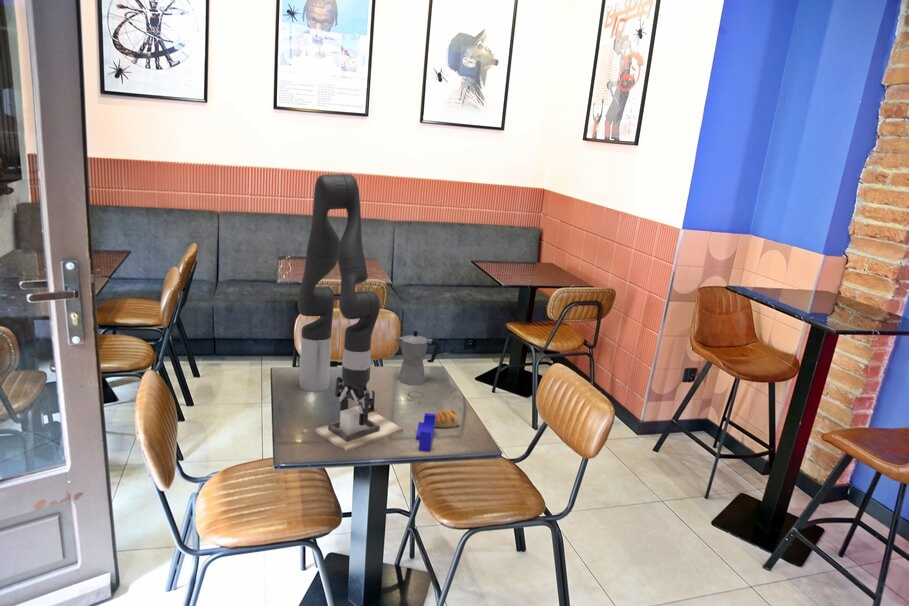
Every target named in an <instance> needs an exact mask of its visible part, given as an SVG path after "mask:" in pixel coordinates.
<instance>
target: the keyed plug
mask: <svg viewBox="0 0 909 606" xmlns="http://www.w3.org/2000/svg"><path fill="white" fill-rule="evenodd" d="M339 414H340V415H339V421H340V429H339V430H341V431H343V432H344V433H346V434H347V435H349V434H352V433H355V432H358V431H361V430H364V429H366V425H363V426H361V425H359V415H360V410H359V407H358V406H357V405H355V406H353V407H348V409H346V410H342V411H340V410H339Z"/></svg>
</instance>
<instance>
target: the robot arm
mask: <svg viewBox="0 0 909 606" xmlns="http://www.w3.org/2000/svg"><path fill="white" fill-rule="evenodd" d="M313 190H314V193H313V203H312V204H313V205H312V206H313V208H312V219H311V227H310V231H309V232H310V233H309V237H308V242H307V247H306V248H307V249H306V254H305V264H304V271H303V275H302V280H301V284H300V287H299V291H298V297H297V310H298V312H299V314H300V315H301V316H304V317H318V318H317V319H316V320H314V321H313V322H309V323H307V324H305V325H304V326H303V327H302V329H301V339H300V340H301V341H300V344H301V345H300V356H299V364H298V384H299V387H300V389H301V390H304V391H306V392H323V391H325V390H327V389H328V388H330V373H331V372H330V371H331V349H332V330H333V317H334V308H335V294H334V293H335V292H334V291H333V288H332V287H331V286H317V285H318V284H319V283H320V282H321V281H322V280H323V279H324V278H325V277H326V276H328V275H329V274H330V272H332V271H333V270H334V269H335V267H336V265H337V264H338V268H339V269H338V270H339V273H340V291H339V293H340V295H339V302H338V303H339V305H338V307H339V312H340V314H341V315H342V316H343V318H345V319H347V320H358V321H357V322H356V323H354V324H351V325H349V326H347V327H346V329H345V331H344V344H343V346H344V347H343V353H342V362H341V363H342V365H341V366H342V367H341V376H337V377H336V383H335V391H334V392H335V393H334V395H335V397H336V398H338V401H339V402H340V403H339V412H340V411H342V410H346V409H349V399H350V400H353V401H354V402H355V406H358V407H359V410H360V415H359V425H361V426H363V425H366V424H367V422H368V413H371V412H375V393H376V392H375V391H374V390H368V389H367V386H368V385H367V384H368V382H369V381H370V378H371V377H370V376H371V364H372V363H371V361H372V353H371V352H372V349H371V347H372V336H373V333H374V329H375V325H376V323H377V320H378V317H379V313H380V311H381V310H380V309H381V302H380V297H379V295H378V294H377V293H376V292H374V291H372V290H364V291H355V288H356V285H359V284H362V283H364V282H366V281H367V280H368V277H369V275H368V269H367V264H366V259H365V253H364V247H363V237H362V216H361V215H362V214H361V213H362V212H361V199H360V198H361V197H360V190H359V185H358V182H357V179H356V177H355V176H354V175H352V174H347V173H345V174H344V173H342V174H337V173H336V174H335V173H334V174H329V173H327V174H321V175H319V176H318V177H317V178H316V181H315V184H314V189H313ZM330 210H346V215H347V220H346V221H347V222H346V226H345V229H344V232H343V234H342V237H341V239H340V237H339V235H338V233H337V232H336V230H335V229H334V228H333V226H332V224H331V223H330V220H329V218H328V215H329V211H330ZM361 400H362V401H361ZM363 405H364V406H363Z"/></svg>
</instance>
